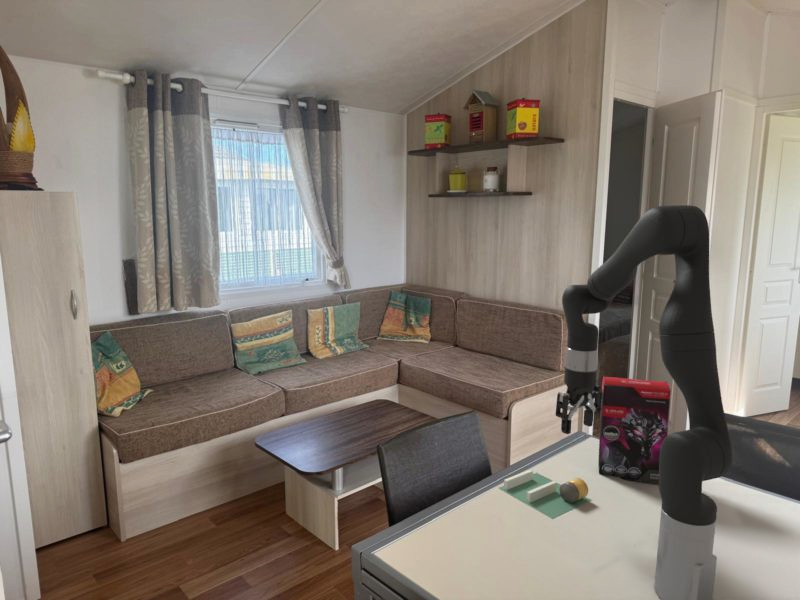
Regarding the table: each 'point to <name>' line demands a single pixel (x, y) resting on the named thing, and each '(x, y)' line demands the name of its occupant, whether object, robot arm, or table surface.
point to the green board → (547, 504)
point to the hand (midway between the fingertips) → (577, 429)
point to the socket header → (531, 494)
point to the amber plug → (573, 490)
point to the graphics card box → (632, 428)
